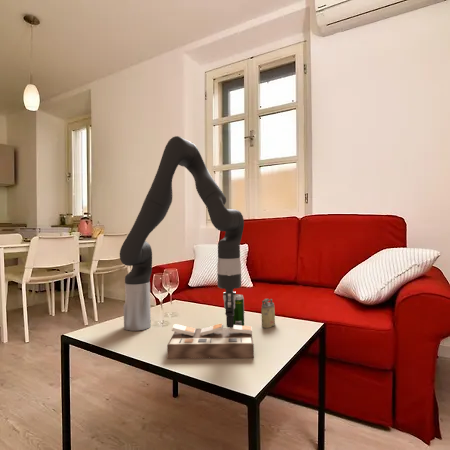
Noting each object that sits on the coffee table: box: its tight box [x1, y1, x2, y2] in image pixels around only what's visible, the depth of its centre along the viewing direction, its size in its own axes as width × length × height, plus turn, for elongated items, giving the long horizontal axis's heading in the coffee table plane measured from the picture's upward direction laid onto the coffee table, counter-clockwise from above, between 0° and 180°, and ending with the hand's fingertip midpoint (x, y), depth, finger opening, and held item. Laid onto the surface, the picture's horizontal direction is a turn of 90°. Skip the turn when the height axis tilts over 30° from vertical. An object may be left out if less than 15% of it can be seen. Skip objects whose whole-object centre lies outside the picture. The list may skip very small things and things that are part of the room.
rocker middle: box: [200, 322, 224, 336], centre depth 97 cm, size 7×4×1 cm, turn 89°
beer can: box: [233, 293, 245, 326], centre depth 115 cm, size 5×5×12 cm
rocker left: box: [171, 323, 197, 336], centre depth 98 cm, size 7×4×1 cm, turn 88°
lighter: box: [260, 298, 276, 329], centre depth 117 cm, size 7×4×10 cm, turn 145°
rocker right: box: [229, 325, 253, 335], centre depth 97 cm, size 7×4×1 cm, turn 88°
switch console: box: [166, 327, 255, 360], centre depth 96 cm, size 25×14×5 cm, turn 88°
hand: (230, 326), depth 97 cm, fingers closed
